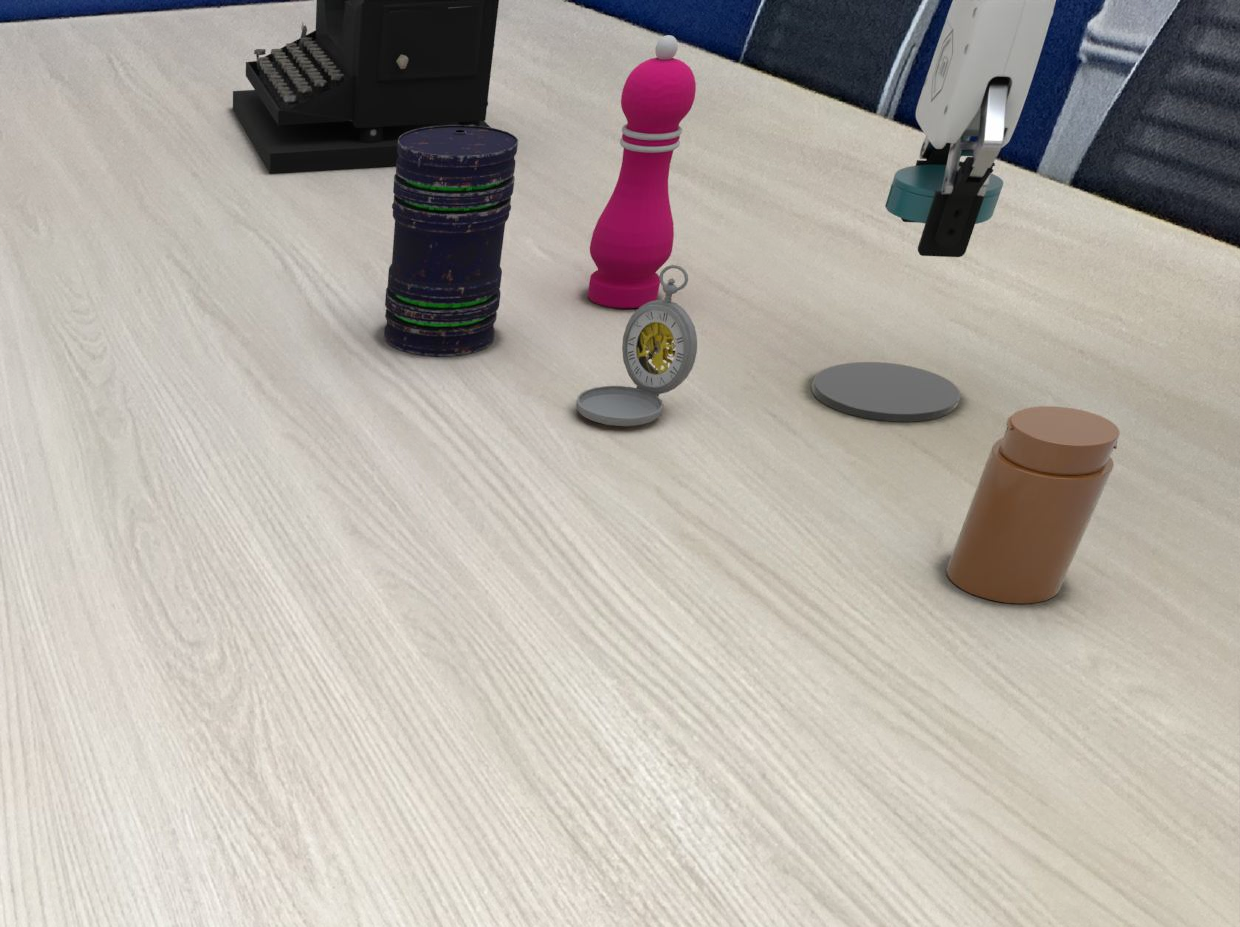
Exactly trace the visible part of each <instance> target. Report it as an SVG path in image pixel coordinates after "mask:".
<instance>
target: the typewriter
mask: <svg viewBox="0 0 1240 927" xmlns="http://www.w3.org/2000/svg"><path fill="white" fill-rule="evenodd" d="M499 3H500V0H316V5H315V6H316V7H315V12H316V13H315V30H314V31H311V32H309V33H308V28H307V25H305V24H304V22H302V24H301V28H300V30H301V33H300V34H301V35H300V37H299V38H298V39H296V40H294V41H292V42H289V43H288V42H287V43H286V44H285V45H284V46H283V47H281V48H271V49H270V53H269V54H267V55H266V52H267V51H266V48H255V49H254V50H253V54H254V55H255V57H256V60H252V61H245V77H246V79H247V80H248V82H249V83H250V85H251V86H252V88H253V89H245V90H232V111H233V112H234V114H235V115H236V117H237V118H238V121H239V123H240V124H241V126H242V128H243V129H244V131H245V133H246V135H247V137H248V138H249V141H251V143H252V145H253V147H254V149H255V150H256V152H257V154H258V156H259V157H260V159H261V161H262V163H263V164H264V166H265V167H266V169H267V171H268V173H269V174H271V175H272V174H286V173H302V172H303V173H304V172H319V171H320V172H321V171H335V170H349V169H350V170H351V169H352V170H353V169H366V168H368V169H369V168H382V167H383V168H385V167H396V161H397V158H398V157H399V154H398V153H397V148H398V138H399V137H400V136H401V135H402V134H404V133H406V132H409V131H412V130H416V129H420V128H425V127H432V126H444V125H470V126H482V127H489V128H492V127H491V126H490V125H489V124H488V123H487V122H486V118H487V110H488V105H489V101H488V100H489V91H490V82H491V73H492V66H493V56H494V49H495V39H496V30H497V20H498V13H499ZM264 55H265V56H264Z"/></svg>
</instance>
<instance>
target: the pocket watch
mask: <svg viewBox="0 0 1240 927" xmlns="http://www.w3.org/2000/svg"><path fill="white" fill-rule="evenodd" d="M671 269H675V270H676V269H677V270H679V271H680V272H681V273H682V275H683V276H684V281H683V283H682V284H681V285H679V286H678V287H677V285H676V284H675V283H676V280H675V279H674V278H670V279H668V280H667V283H665V281H664V274H665V273H666V272H667V271H668V270H671ZM659 279H660V285H661V287H662V291H663V292H664V293H665V295H664V299H656V301H651V302H648V303H646V304H644V305H643V306H641V307H639V308H637V309H636V311H634V312H632V314H631V316H630V318H629V320H628V322H627V323H626V326H625V330H624V332H623V337H622V346H621V350H622V351H621V352H622V359H623V361H622V362H623V364H624V366H625V369H626V373H627V374H628V376H629V378H630V380H631V381H632V382H633V384H634V385H635V386H636V387H632V386H624V385H604V386H597V387H592V388H589V389H586V390H583V391H582V392H580V393H579V395H577V398H576V402H575V407H576V409H577V411H578V412H579V414H580V415H581V416H582V417H584V418H585V419H588V420H590V421H592V422H596V423H599V424H602V425H606V426H616V427H631V426H633V427H634V426H639V425H640V426H641V425H645V424H649V423H652V422H653V421H655V420H657V419H659V417H661V414H662V413H663V411H664V401H663V400H662V399H661V398H660V395H662V394H666V393H669V392H671V391H674V390H675V389H676V388H678V387H679V386H681V385H682V383H683V382H684V381H685V380H686V379H687V378H688V376H689V375H690V373H691V371H692V370H693V368H694V365H695V362H696V358H697V354H698V335H697V332H696V327H695V325H694V322H693V320H692V318H691V316H690V314H689V313H688V312H687V311H686V310H685V309H684V308H683V307H682V306H681V305H679V304H678V303H676V302H674V301H672V297H673V295H675V294H676V293H677V292H678V291H681V290H683V289H685V287H686V286H687V285H688V282H689V274H688V273H687V271H686V269H685V268H683V267H682V266H680V265H678V264H677V265H675V264H672V265H667V266H665V267H664V268H662V270H661V271H660V273H659ZM674 349H675V350H674ZM646 351H648V352H646ZM670 358H673V360H672V359H670ZM649 360H651V363H650V361H649ZM664 361H665V362H664ZM668 363H669V365H668ZM661 367H664V368H661Z"/></svg>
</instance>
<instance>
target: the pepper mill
mask: <svg viewBox="0 0 1240 927" xmlns="http://www.w3.org/2000/svg"><path fill="white" fill-rule="evenodd" d="M678 49H679V44H678V39H676V37H675V36H673V35H669V34H667V35H664V36H662V37H661V38H659V40H658V41H657V42H656V45H655V50H654V52H655V56H656V57H653V58H649V59H647V60H645V61H643V62H641V63H639V64H637V66H635V67H634V68H633V69H632V71H630V73H629V74H628V76H627V78H626V80H625V81H624V82H625V83H624V85H623V88H622V92H621V95H620V96H621V98H620V107H621V111H622V113H623V115H624V116H625V119H626V121H627V122H626V123H625V124H624V125H623V126H622V128H621V133H622V134H621V138H620V139H619V145H620V146H621V148H623V150H622V151H623V152H622V158H621V159H622V160H621V165H620V170H619V174H618V179H617V182H616V184H615V187H614V189H613V192H612V193H611V195H610V198H609V200H608V201H607V203H606V205H605V207H604V209H603V210H602V212H601V214H600V216H599V218H598V219H597V221H596V224H595V227H594V229H593V231H592V234H591V239H590V244H589V254H590V257H591V259H592V261H593V263H594V265H595V267H596V268H597V270H595V271H593V273H591V274H590V277H589V283H588V290H587V297H588V299H589V300H590V301H591V302H593V304H594V303H595V304H597V305H599V306H603V307H606V308H615V309H624V310H625V309H639V308H640V307H641V306H643V305H644V304H646V303H648V302H651V301H656V300H658V295H659V291H660V285H661V283H660V279H659V276H660V274H658V273H657V272H658V271H659V270H660V269H661V268H662V267H663V266H664V265H665V264H666V263H667V262H668V260H669V259H670V257H671V256H672V252H673V247H674V240H675V239H674V238H675V232H674V231H675V229H674V219H673V214H672V208H671V203H670V194H669V175H670V167H671V162H672V159H673V154H674V150H676V149H677V148H679V147H680V145H681V141H680V138H681V137H680V136H681V135H682V134H683V128H682V127H681V126H680V123H681V122H682V121H683V119H685V117H687V115H688V114H689V112H690V111H691V109H692V107H693V105H694V102H695V99H696V93H697V92H696V90H697V88H696V87H697V84H696V78H695V74H694V72H693V71H692V70H693V69H691V67H690V66H689V65H688V64H687V63H686V62H684V61H682V60H680V59H677V58H674V57H675V56H676V54H677V52H678Z"/></svg>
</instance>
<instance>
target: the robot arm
mask: <svg viewBox="0 0 1240 927" xmlns="http://www.w3.org/2000/svg"><path fill="white" fill-rule="evenodd" d="M1056 1H1057V0H952V2H951V4H950V7H949V10H948V13H947V16H946V18H945V21H944V24H943V27H942V30H941V33H940V35H939V39H938V42H937V45H936V47H935V51H934V53H933V57H932V60H931V63H930V66H929V68H928V72H927V74H926V77H925V80H924V84H923V87H922V89H921V93H920V95H919V98H918V102H917V105H916V107H915V108H916V109H915V120H916V122H917V124H918V126H919V127H920V129H921V130H922V132H923V134H924V135H925V137H924V139H923V142H922V143H921V147H920V151H919V159H917V160H916V162H915V165H914V166H917V165H946V170H945V175H944V180H943V185H942V190H941V192H940V191H936V192H935V195H934V198H933V201H932V204H931V208H930V211H929V214H928V217H927V220H926V223H924V227H923V229H922V233H921V237H920V239H919V241H918V242H919V243H918V245H917V252H918V254H919V255H920V256H921V257H942V258H960V257H963V256H965V254H966V252H967V249H968V247H969V243H970V240H971V237H972V234H973V232H974V228H975V226H976V224H975V223H976V220H977V217H978V214H979V211H980V208H981V205H982V202H983V199H984V196H985V193H986V191H987V188H988V185H989V180H990V175H991V173H992V174H993V172H994V169H993V168H994V167H995V166H996V163H995V161H996V159H997V157H998V156H999V154H1000V152H1001V150H1002V148H1004V147H1006V145H1007V144H1009V142H1010V140H1011V139H1012V136H1013V134H1014V132H1015V129H1016V127H1017V125H1018V122H1019V119H1020V117H1021V114H1022V111H1023V109H1024V106H1025V102H1026V99H1027V97H1028V94H1029V92H1030V91H1029V90H1030V88H1031V85H1032V82H1033V79H1034V75H1035V72H1036V69H1037V66H1038V64H1039V63H1038V62H1039V59H1040V56H1041V53H1042V50H1043V47H1044V43H1045V39H1046V37H1047V34H1048V31H1049V30H1048V29H1049V26H1050V23H1051V19H1052V17H1053V15H1054V9H1055V6H1056ZM971 137H977V140H976V141H974V140H972V141H971V140H970V139H971ZM961 157H965V159H964V161H961ZM958 166H961V167H960V169H959V170H958ZM957 171H958V172H957ZM900 219H901V221H902V222H904V223H917V224H919V222H914V221H910V220H906V219H903V218H900Z"/></svg>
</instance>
